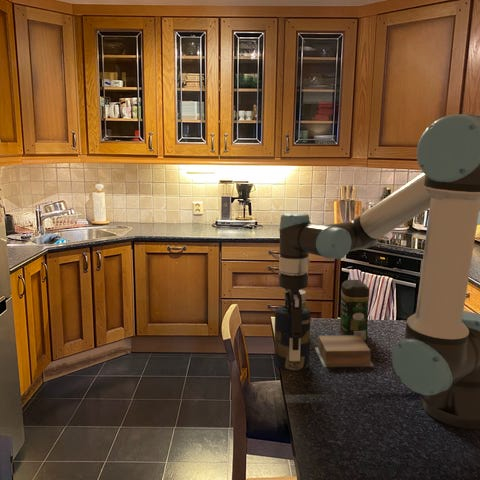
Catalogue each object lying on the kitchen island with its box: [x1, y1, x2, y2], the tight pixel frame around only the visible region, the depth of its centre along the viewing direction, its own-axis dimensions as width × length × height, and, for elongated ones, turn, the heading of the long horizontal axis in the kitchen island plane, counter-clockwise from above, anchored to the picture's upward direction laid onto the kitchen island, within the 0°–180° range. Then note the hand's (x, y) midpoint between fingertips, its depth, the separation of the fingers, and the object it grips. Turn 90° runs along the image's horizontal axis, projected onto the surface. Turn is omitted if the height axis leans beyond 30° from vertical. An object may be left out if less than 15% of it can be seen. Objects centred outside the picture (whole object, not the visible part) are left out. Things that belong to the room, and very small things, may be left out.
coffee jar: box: [339, 279, 370, 341], centre depth 150 cm, size 10×8×19 cm
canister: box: [273, 304, 312, 372], centre depth 130 cm, size 10×10×18 cm
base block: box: [317, 334, 372, 365], centre depth 135 cm, size 11×12×4 cm
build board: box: [314, 346, 375, 368], centre depth 135 cm, size 18×15×1 cm
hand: (292, 352), depth 131 cm, fingers closed on canister, 9 cm apart
